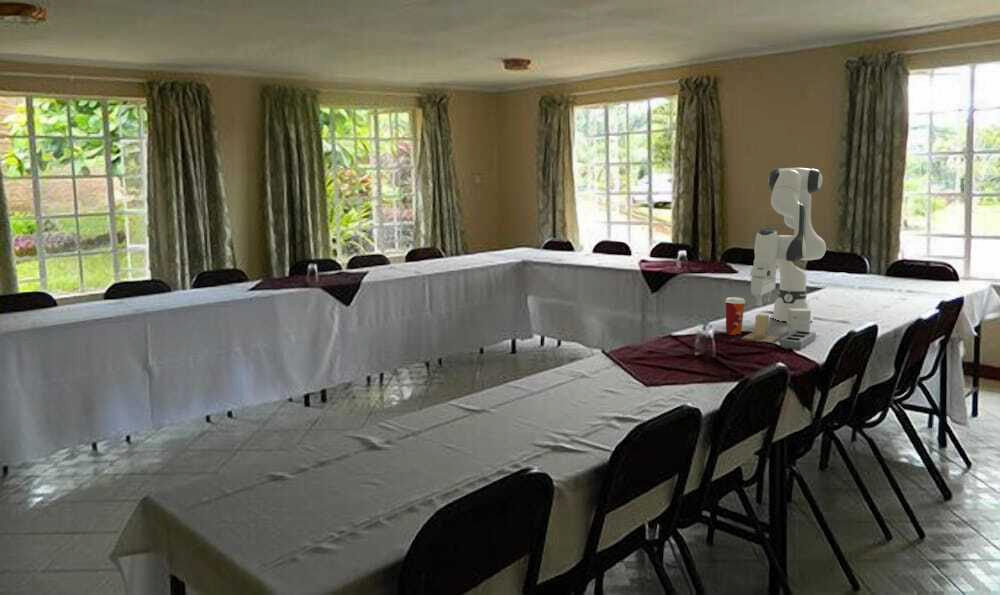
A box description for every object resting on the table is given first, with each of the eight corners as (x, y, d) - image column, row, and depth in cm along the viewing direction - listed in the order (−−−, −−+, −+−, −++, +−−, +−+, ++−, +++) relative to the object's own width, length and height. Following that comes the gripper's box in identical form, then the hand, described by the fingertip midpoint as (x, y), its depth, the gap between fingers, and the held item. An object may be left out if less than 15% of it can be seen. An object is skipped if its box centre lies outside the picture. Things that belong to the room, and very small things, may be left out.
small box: (805, 332, 329) (807, 308, 328) (809, 335, 324) (811, 310, 322) (786, 332, 330) (787, 307, 328) (789, 335, 325) (791, 310, 323)
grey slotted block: (795, 337, 320) (795, 330, 319) (815, 339, 315) (815, 332, 315) (779, 346, 302) (779, 339, 302) (800, 349, 298) (801, 342, 297)
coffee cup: (739, 336, 321) (741, 300, 319) (720, 334, 326) (722, 298, 324) (746, 333, 328) (748, 298, 325) (727, 330, 333) (729, 296, 330)
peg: (757, 335, 318) (758, 314, 317) (767, 336, 316) (768, 315, 314) (754, 337, 315) (755, 315, 313) (764, 338, 312) (765, 316, 311)
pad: (750, 335, 324) (751, 332, 323) (780, 338, 317) (780, 336, 316) (741, 340, 314) (741, 337, 314) (771, 344, 307) (771, 341, 307)
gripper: (765, 266, 321) (763, 298, 323) (748, 272, 305) (746, 306, 307) (780, 267, 317) (778, 300, 320) (764, 273, 301) (762, 308, 304)
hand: (762, 303), depth 313 cm, fingers open, 8 cm apart
